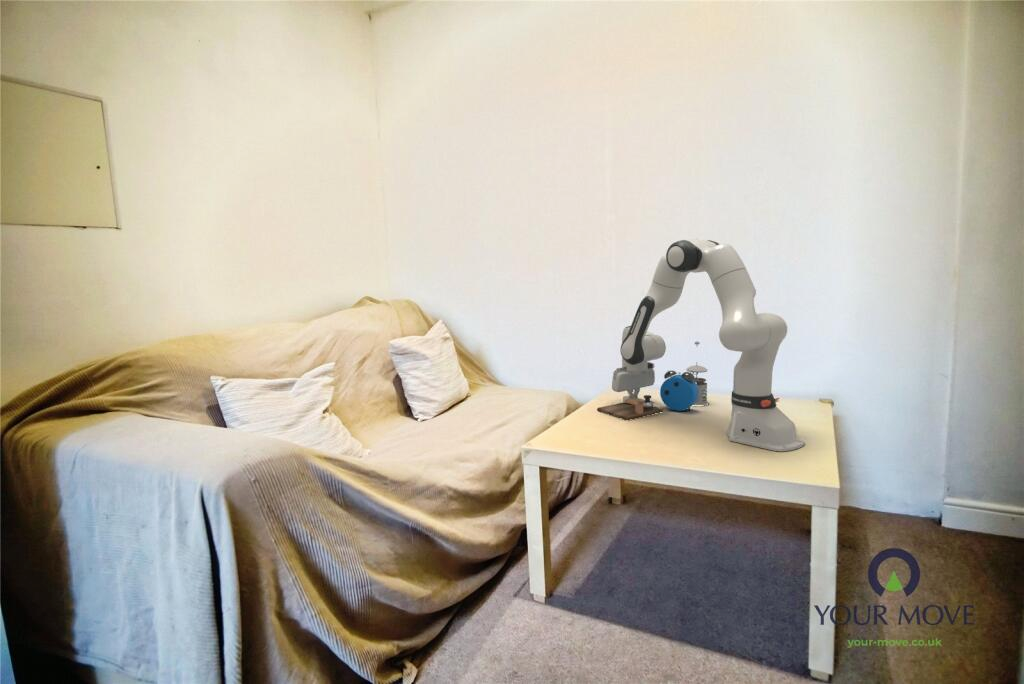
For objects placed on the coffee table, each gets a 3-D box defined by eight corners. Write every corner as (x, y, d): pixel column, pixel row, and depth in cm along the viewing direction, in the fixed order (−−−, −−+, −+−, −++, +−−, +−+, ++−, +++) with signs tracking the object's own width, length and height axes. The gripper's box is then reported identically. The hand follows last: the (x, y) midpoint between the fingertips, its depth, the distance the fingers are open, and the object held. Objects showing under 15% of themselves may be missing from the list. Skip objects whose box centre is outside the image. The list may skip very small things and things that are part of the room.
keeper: (644, 412, 196) (644, 401, 195) (638, 414, 194) (638, 402, 193) (631, 409, 201) (631, 397, 201) (625, 410, 200) (625, 399, 199)
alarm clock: (698, 410, 201) (699, 371, 199) (693, 414, 196) (693, 374, 194) (665, 405, 209) (665, 368, 207) (659, 409, 204) (659, 371, 202)
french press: (684, 406, 207) (685, 343, 204) (681, 398, 218) (682, 338, 215) (711, 406, 205) (712, 342, 201) (707, 399, 216) (708, 338, 213)
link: (656, 407, 201) (656, 396, 200) (647, 409, 199) (647, 398, 198) (629, 400, 213) (629, 389, 212) (621, 401, 211) (621, 391, 210)
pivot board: (662, 412, 200) (663, 409, 199) (627, 420, 191) (627, 417, 190) (632, 403, 214) (632, 400, 214) (597, 410, 205) (597, 407, 205)
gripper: (619, 370, 202) (619, 405, 204) (657, 363, 212) (657, 397, 214) (608, 367, 207) (608, 402, 209) (645, 361, 218) (645, 394, 220)
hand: (633, 399), depth 212 cm, fingers closed
